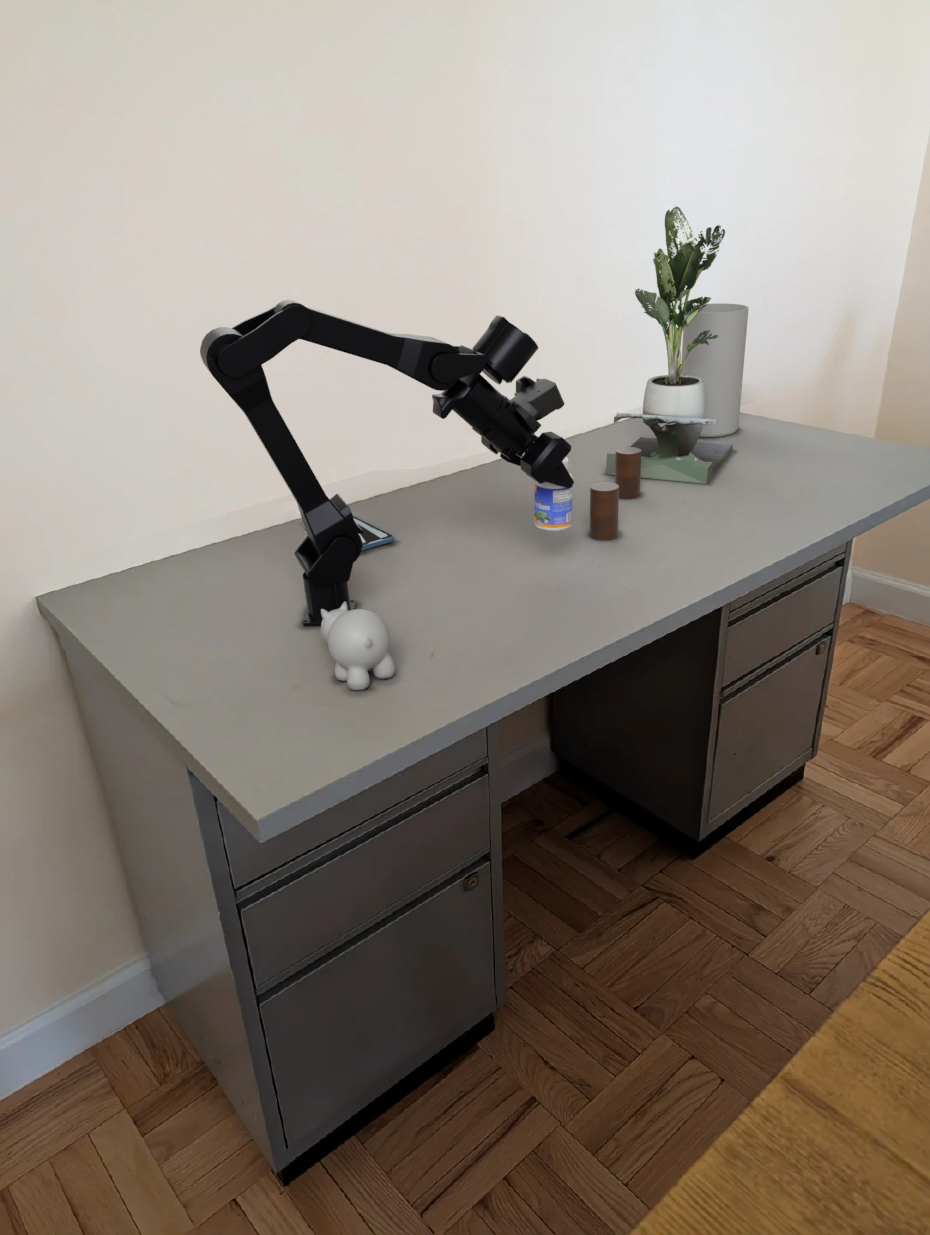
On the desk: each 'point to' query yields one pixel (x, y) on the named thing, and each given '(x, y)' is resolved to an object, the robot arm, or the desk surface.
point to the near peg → (604, 510)
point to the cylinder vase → (718, 363)
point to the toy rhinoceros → (357, 645)
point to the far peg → (628, 471)
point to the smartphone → (372, 534)
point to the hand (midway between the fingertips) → (562, 479)
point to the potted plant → (677, 369)
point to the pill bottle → (553, 505)
